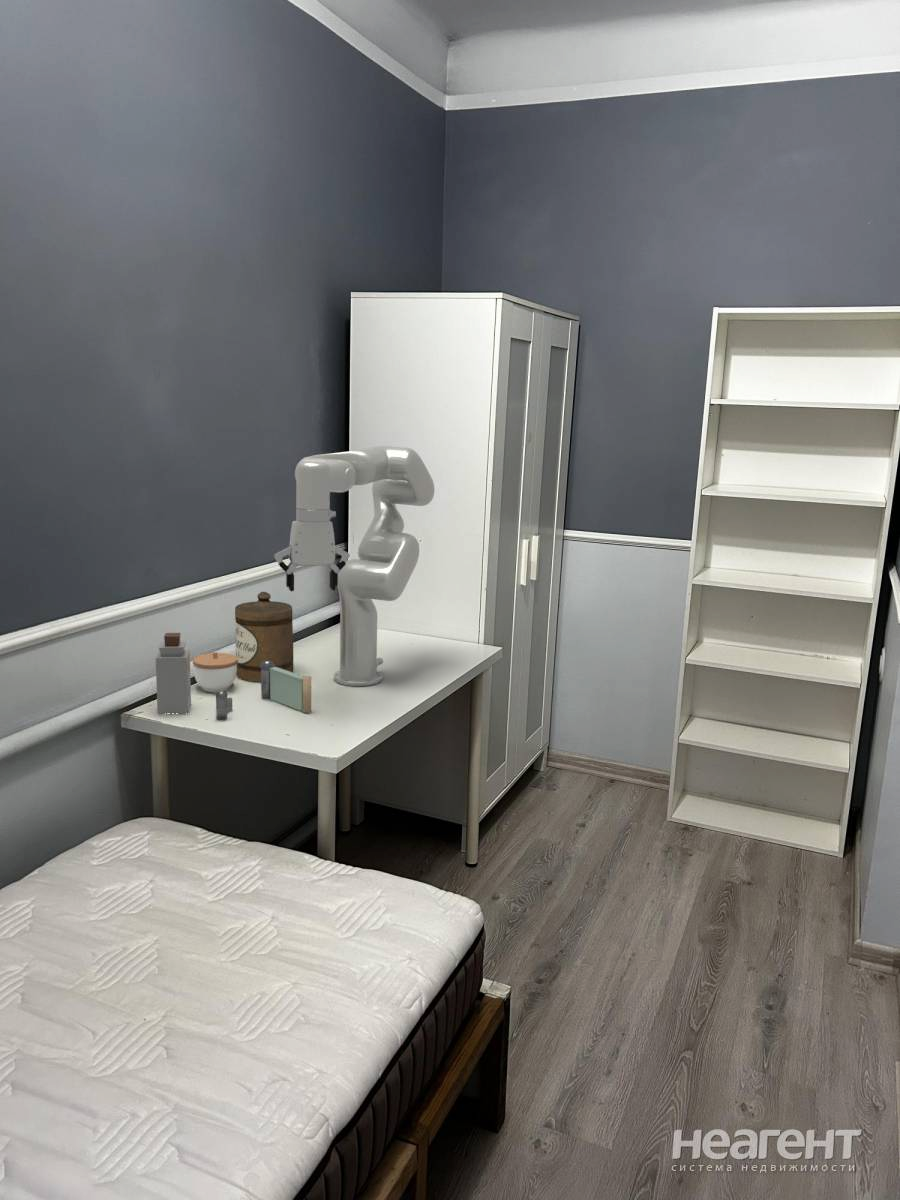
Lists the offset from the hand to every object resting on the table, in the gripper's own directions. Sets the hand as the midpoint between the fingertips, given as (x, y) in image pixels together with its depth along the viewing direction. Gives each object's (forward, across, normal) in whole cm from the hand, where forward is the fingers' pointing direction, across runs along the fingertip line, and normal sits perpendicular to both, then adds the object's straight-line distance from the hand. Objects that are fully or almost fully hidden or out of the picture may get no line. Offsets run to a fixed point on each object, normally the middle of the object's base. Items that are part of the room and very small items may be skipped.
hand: (312, 589), depth 217 cm
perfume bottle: (+29, +31, -5) cm, 42 cm away
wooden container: (+28, +7, -27) cm, 40 cm away
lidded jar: (+28, +20, -18) cm, 39 cm away
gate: (+28, +5, -1) cm, 28 cm away
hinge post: (+28, +9, -8) cm, 31 cm away
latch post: (+28, +20, +2) cm, 35 cm away
